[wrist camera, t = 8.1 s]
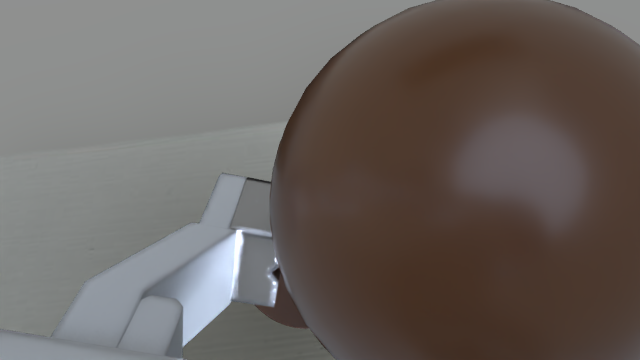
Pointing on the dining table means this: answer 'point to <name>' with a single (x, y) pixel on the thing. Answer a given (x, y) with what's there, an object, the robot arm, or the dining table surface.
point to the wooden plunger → (466, 189)
